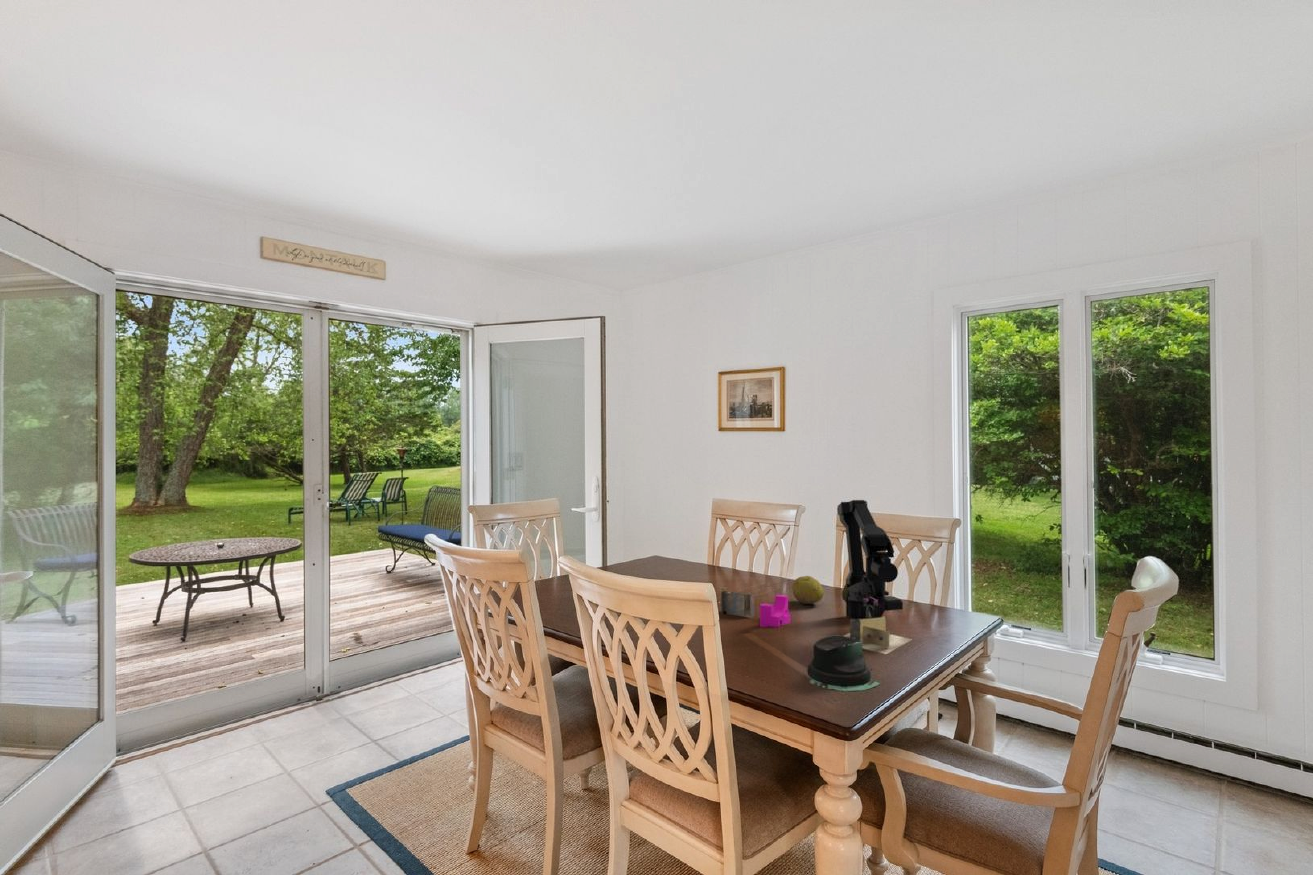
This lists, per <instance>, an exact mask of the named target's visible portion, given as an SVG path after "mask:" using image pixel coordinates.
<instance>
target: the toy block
mask: <svg viewBox="0 0 1313 875" xmlns="http://www.w3.org/2000/svg"><path fill="white" fill-rule="evenodd" d="M790 623H791V612H790V611H789V596H788V595H785V594H783V595H782V594H776V595H775V597H774V603H773V604H771V603H764V602H763V603H762V604H760V605H759V627H760V628H765V627H773V628H780V627H781V626H784V625H788V624H790Z"/></svg>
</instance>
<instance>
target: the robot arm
mask: <svg viewBox="0 0 1313 875" xmlns="http://www.w3.org/2000/svg"><path fill="white" fill-rule="evenodd" d="M836 510H837V515H838V516H839V521H840V523H841V525H843V527H844V528H845V536H846V546H847V555H848V556H847V557H848V568H849V572H848V573H847V576H846V578H845V584H844V586H843V589H842V592H841V598H842V600H843V601H844V602H845V612H846V615H845V617H846V618H847V617H850V618H851V619H858V620H859V619H860V618H870V617H879V616H884V613H885V612H886V611H897V610H898V611H899V610H903V609H904V601H903V600H902V599H901V598H898V597H895V596H890V593H889V591H887V588H886V587H887V586H886V584H887V583H892V582H894V581H895V580H896V579H897V578H898V575H899V570H898V567H897V566H896V565H895V564H894V563H892V558H894V557H895V555H894V553H895V549H894V547H893V546H894V545H893V544H892V542H891V539H890V537H889V536H888V534H887V533H886V531H885V530H884V529H883V528H881V527H879V526H878V525H877V523H876V521H875V519H874V518H873V515H872V513H871V512H870V509H869V507H868V502H867V500H865V499H853V500H850V501H841V502H840V503H839V504H837V508H836ZM861 534H862V535H861ZM863 553H864V555H863ZM864 556H865V566H864Z"/></svg>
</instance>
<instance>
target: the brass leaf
mask: <svg viewBox="0 0 1313 875" xmlns="http://www.w3.org/2000/svg"><path fill="white" fill-rule="evenodd" d="M858 620H860V637H863V626H866V627H871V628H875V629H879V630H884V631H887V630H886V628H887V627H886V626H887V625H886V623H887V622H886V616H884V615H882V616H879V617H871V616H869V618H860V619H858Z"/></svg>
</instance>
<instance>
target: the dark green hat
mask: <svg viewBox="0 0 1313 875" xmlns="http://www.w3.org/2000/svg"><path fill="white" fill-rule="evenodd" d="M812 647H813V658H812V660H811V662H809V664H808V667H807V672H806V673H807V676H808V677H809V678H811V679H810V680H809V683H810V684H812V685H814V684H816V685H817V687H819V686H821V685H822V687H821V688H823V689H825V687H826V686H825V685H827V689H829V690H837V691H845V692H850V691H865V690H870V689H873V688H874V687H877V686H878V685H880V684H881V682H878V681H874V682H873V683H871V682H872V677H871V676H872V674H871V671H872V669H871V668H869V667H867V663H866V659H865V655H864V653H863V648H862V642H860V641H859V640H856V639H855V638H850V637H845V636H844V635H837V634H834V635H828V636H825V637H823V638H821V639H819V640H817V641H816V642H815V643H814V645H813V646H812ZM870 683H871V684H870Z"/></svg>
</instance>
